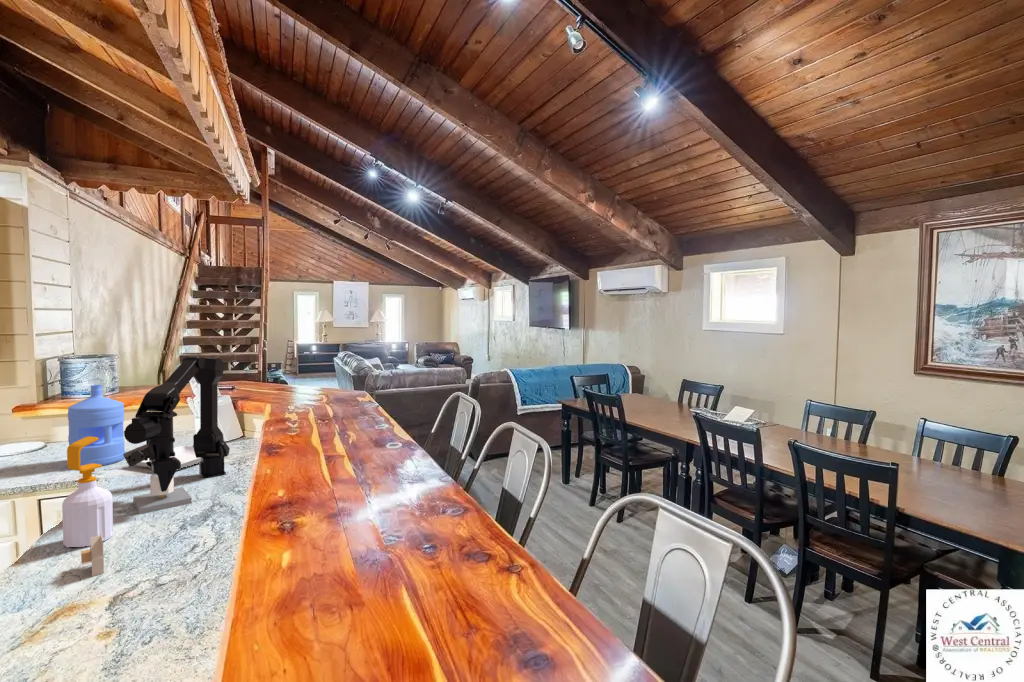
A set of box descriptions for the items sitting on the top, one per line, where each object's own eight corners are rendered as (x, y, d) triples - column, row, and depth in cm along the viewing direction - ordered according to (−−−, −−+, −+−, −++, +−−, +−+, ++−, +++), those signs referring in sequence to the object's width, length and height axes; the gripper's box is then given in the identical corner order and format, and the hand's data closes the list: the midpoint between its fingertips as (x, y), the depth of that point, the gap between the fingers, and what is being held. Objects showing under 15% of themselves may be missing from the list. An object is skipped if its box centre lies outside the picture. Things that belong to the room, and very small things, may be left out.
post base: (182, 491, 150) (182, 474, 149) (191, 502, 141) (191, 484, 141) (133, 501, 141) (132, 482, 141) (139, 514, 133) (139, 494, 132)
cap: (149, 491, 141) (148, 474, 141) (171, 487, 145) (171, 470, 144) (152, 496, 137) (151, 479, 137) (175, 492, 141) (175, 475, 141)
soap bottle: (122, 535, 120) (120, 435, 119) (79, 551, 111) (76, 444, 110) (97, 529, 123) (95, 432, 122) (53, 545, 114) (50, 440, 113)
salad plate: (170, 475, 165) (170, 465, 165) (126, 468, 172) (126, 459, 172) (225, 459, 186) (225, 450, 185) (183, 453, 192) (183, 444, 192)
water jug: (58, 464, 174) (56, 386, 173) (109, 453, 189) (107, 381, 188) (85, 470, 168) (83, 389, 167) (134, 458, 183) (133, 384, 182)
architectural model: (82, 581, 100) (81, 545, 100) (81, 568, 105) (80, 534, 105) (104, 575, 102) (103, 540, 102) (102, 563, 107) (101, 529, 107)
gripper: (121, 433, 141) (122, 486, 142) (130, 446, 128) (131, 505, 129) (167, 427, 149) (168, 478, 150) (180, 439, 136) (181, 494, 136)
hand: (162, 488), depth 141 cm, fingers closed on cap, 5 cm apart
